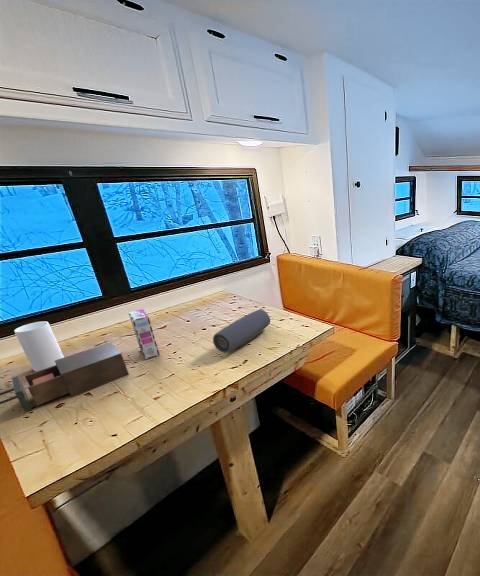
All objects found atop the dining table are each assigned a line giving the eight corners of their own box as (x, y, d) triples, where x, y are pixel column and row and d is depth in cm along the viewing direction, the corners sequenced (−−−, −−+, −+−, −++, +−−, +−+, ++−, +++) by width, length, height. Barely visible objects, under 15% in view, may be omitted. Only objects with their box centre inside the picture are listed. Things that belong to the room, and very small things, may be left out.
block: (39, 397, 92) (33, 385, 91) (38, 391, 95) (32, 379, 93) (60, 389, 96) (54, 378, 94) (57, 384, 98) (52, 372, 97)
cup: (49, 371, 108) (30, 331, 103) (26, 372, 108) (6, 332, 103) (71, 358, 116) (55, 321, 111) (50, 359, 116) (32, 321, 111)
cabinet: (71, 397, 95) (60, 374, 92) (64, 382, 102) (54, 360, 99) (128, 374, 106) (121, 353, 103) (118, 362, 113) (111, 342, 110)
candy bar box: (161, 355, 117) (148, 316, 112) (145, 360, 114) (131, 321, 108) (155, 344, 125) (143, 308, 119) (140, 349, 121) (127, 312, 116)
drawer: (-14, 427, 83) (-26, 407, 81) (-15, 409, 90) (-26, 390, 87) (87, 387, 98) (79, 369, 96) (79, 374, 105) (72, 357, 102)
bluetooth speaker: (256, 327, 137) (252, 307, 134) (273, 330, 134) (269, 309, 131) (214, 353, 117) (208, 330, 114) (233, 357, 114) (228, 334, 111)
